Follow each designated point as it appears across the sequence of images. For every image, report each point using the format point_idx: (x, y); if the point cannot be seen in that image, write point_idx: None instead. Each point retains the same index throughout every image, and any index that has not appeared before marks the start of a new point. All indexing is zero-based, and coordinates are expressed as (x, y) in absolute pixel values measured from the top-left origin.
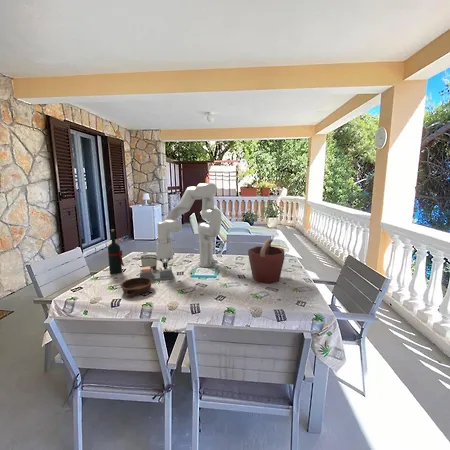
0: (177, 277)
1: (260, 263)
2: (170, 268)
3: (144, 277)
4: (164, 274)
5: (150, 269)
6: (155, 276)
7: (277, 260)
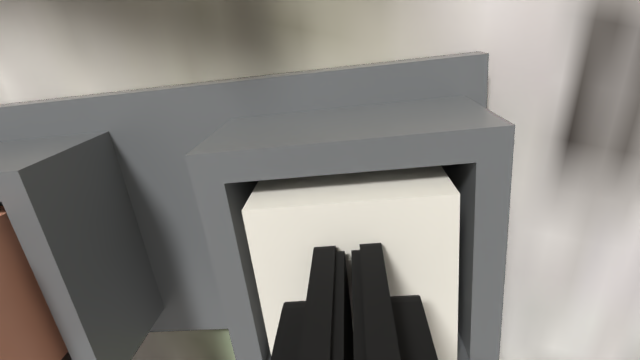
0: (537, 278)
1: None
2: (479, 263)
3: None
4: None
5: (2, 264)
6: (184, 245)
7: None
